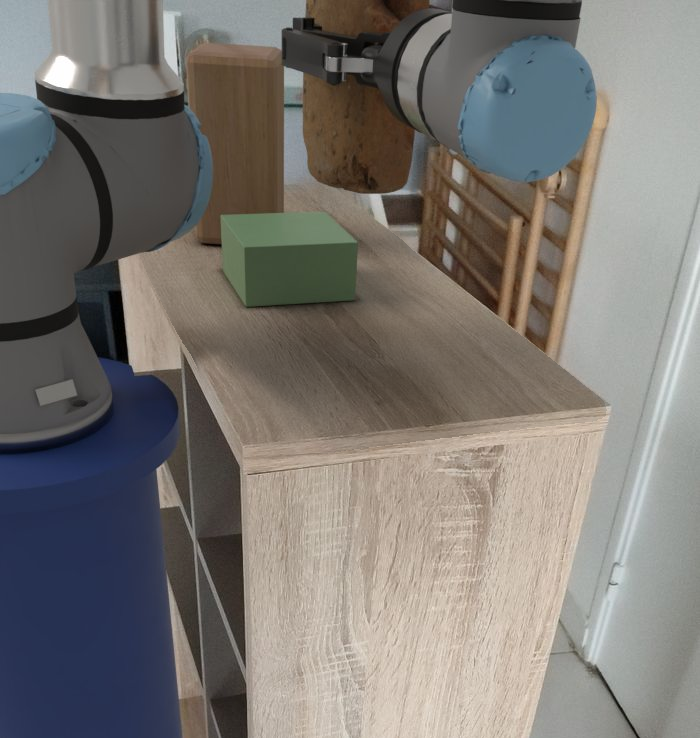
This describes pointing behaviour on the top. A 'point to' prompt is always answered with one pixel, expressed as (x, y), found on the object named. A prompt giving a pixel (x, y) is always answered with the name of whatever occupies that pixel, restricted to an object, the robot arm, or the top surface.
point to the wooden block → (239, 129)
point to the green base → (288, 258)
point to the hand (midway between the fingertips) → (348, 37)
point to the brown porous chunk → (356, 108)
